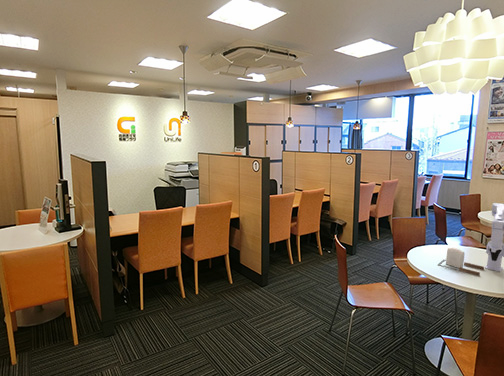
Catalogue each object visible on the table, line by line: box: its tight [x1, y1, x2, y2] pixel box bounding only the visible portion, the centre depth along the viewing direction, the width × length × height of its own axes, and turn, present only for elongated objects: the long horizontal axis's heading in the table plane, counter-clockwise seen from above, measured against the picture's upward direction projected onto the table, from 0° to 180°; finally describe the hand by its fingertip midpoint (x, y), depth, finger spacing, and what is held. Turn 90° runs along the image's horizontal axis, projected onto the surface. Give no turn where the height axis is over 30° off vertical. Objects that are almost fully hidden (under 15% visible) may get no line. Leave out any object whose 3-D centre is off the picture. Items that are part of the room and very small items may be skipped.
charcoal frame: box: [437, 259, 458, 271], centre depth 211 cm, size 15×12×1 cm
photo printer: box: [445, 247, 466, 269], centre depth 208 cm, size 10×4×12 cm, turn 31°
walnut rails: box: [458, 261, 485, 277], centre depth 202 cm, size 14×11×2 cm
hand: (494, 260), depth 191 cm, fingers closed
